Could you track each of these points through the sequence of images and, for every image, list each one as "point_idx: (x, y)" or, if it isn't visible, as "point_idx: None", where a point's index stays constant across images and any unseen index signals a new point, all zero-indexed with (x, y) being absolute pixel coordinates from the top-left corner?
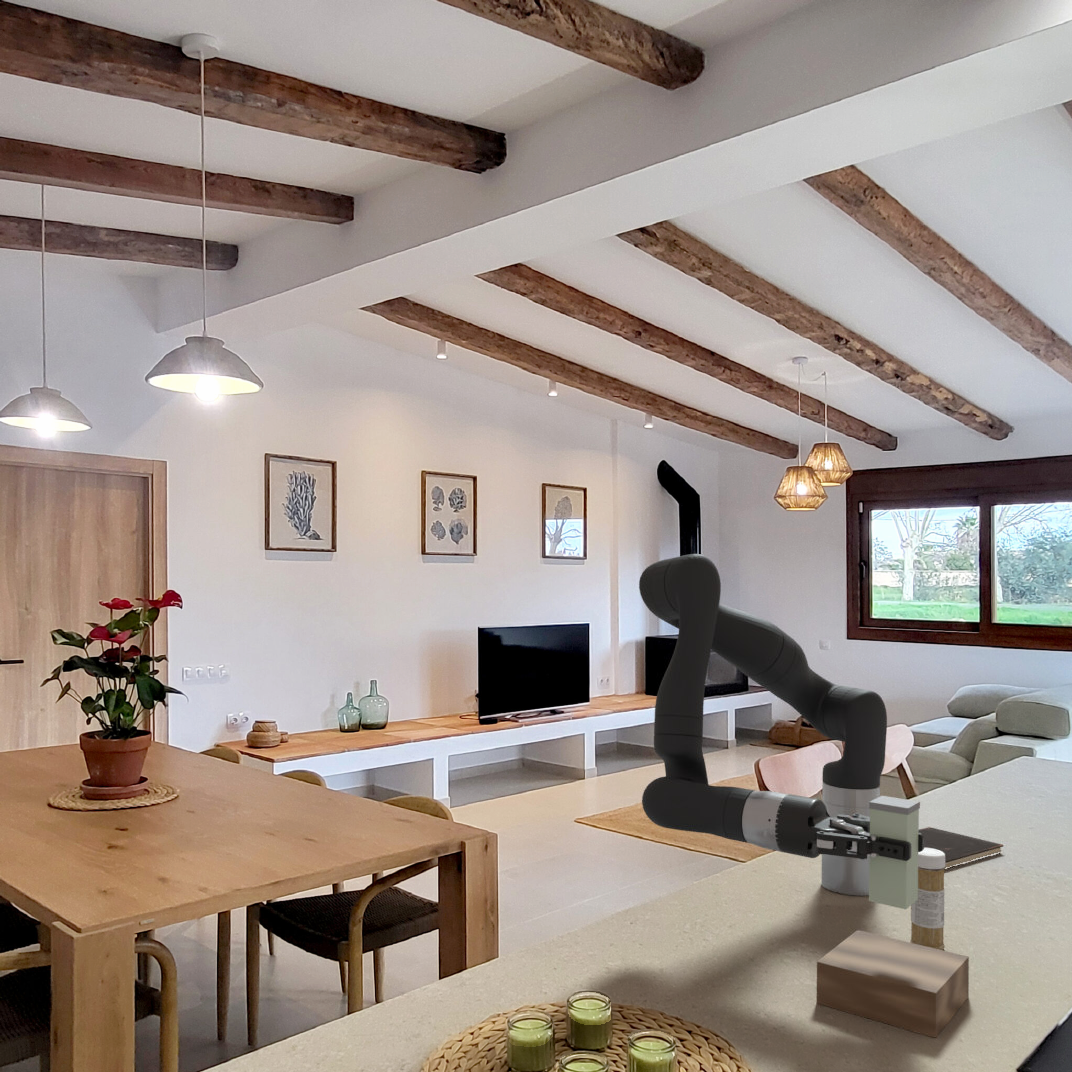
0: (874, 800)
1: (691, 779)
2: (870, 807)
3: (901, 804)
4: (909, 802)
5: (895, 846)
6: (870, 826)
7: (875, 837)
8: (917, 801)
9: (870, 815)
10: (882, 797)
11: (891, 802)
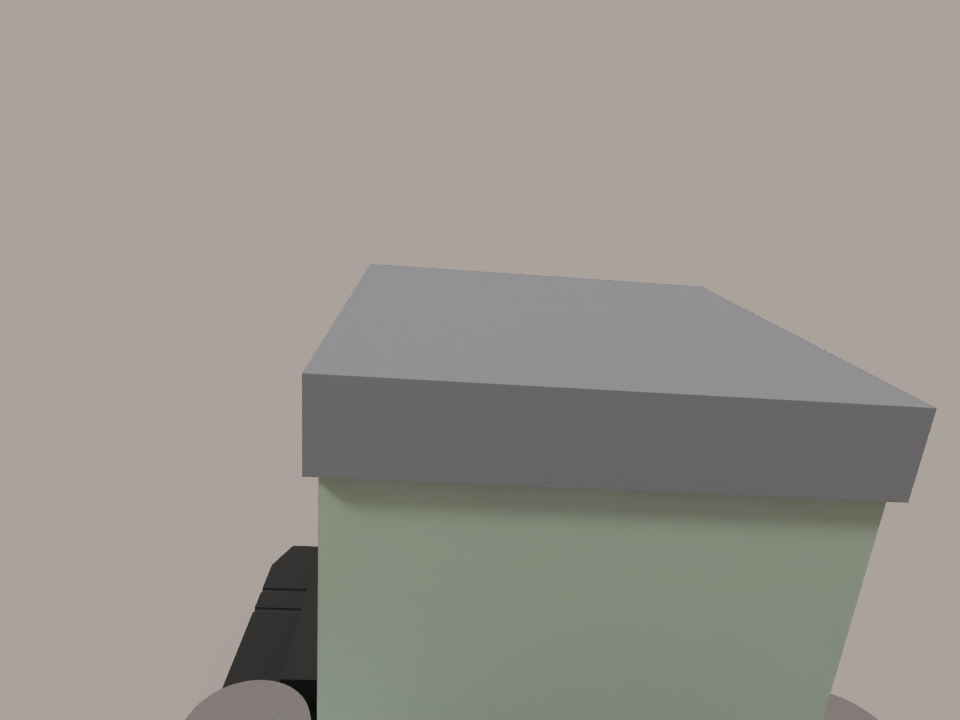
0: (757, 390)
1: None
2: (896, 477)
3: (620, 299)
4: (470, 283)
5: None
6: (818, 708)
7: (843, 705)
8: (377, 267)
9: (861, 581)
10: (442, 365)
11: (636, 323)
